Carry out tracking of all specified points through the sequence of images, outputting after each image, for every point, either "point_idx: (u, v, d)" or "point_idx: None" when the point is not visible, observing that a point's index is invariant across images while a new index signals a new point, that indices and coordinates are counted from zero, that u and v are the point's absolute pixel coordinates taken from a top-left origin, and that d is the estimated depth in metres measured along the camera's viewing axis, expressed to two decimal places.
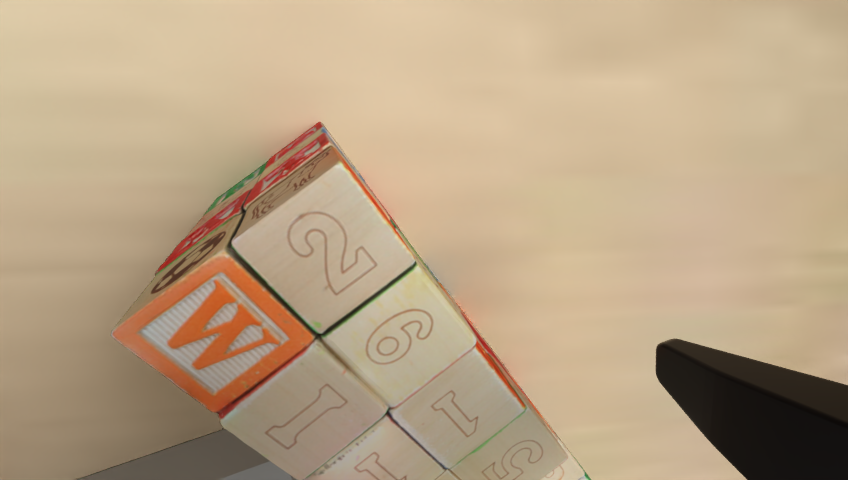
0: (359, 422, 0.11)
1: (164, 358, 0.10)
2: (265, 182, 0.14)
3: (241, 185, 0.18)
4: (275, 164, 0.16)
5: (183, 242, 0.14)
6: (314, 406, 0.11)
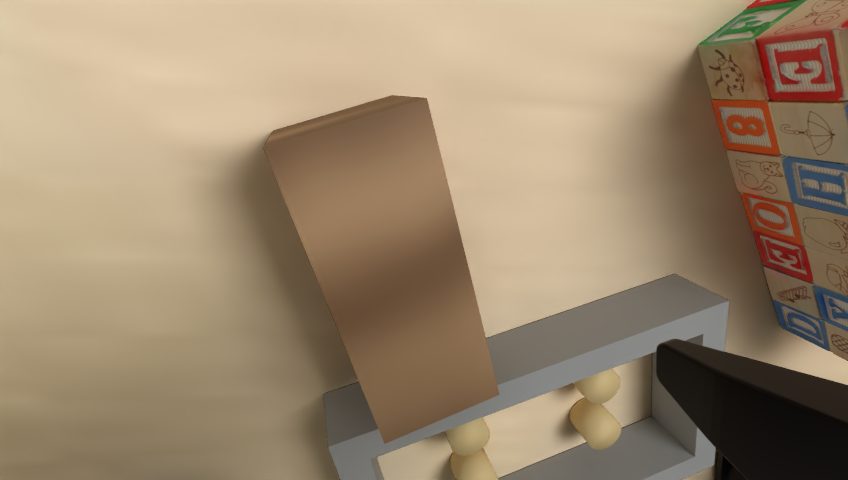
0: None
1: None
2: None
3: (756, 21, 0.19)
4: None
5: None
6: None
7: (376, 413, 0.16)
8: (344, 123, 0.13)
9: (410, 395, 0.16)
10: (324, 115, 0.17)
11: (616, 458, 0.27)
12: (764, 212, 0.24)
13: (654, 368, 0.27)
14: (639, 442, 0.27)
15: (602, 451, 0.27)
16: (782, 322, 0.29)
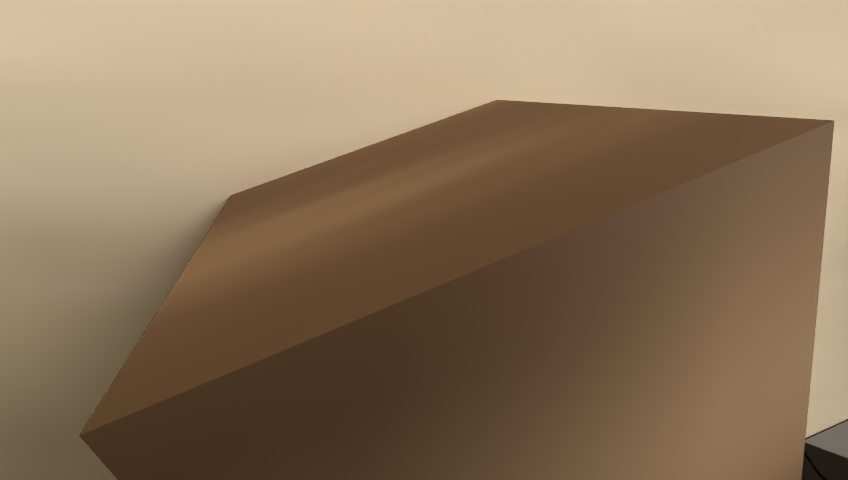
0: None
1: None
2: None
3: None
4: None
5: None
6: None
7: None
8: (493, 263, 0.03)
9: None
10: (349, 154, 0.07)
11: None
12: None
13: None
14: None
15: None
16: None
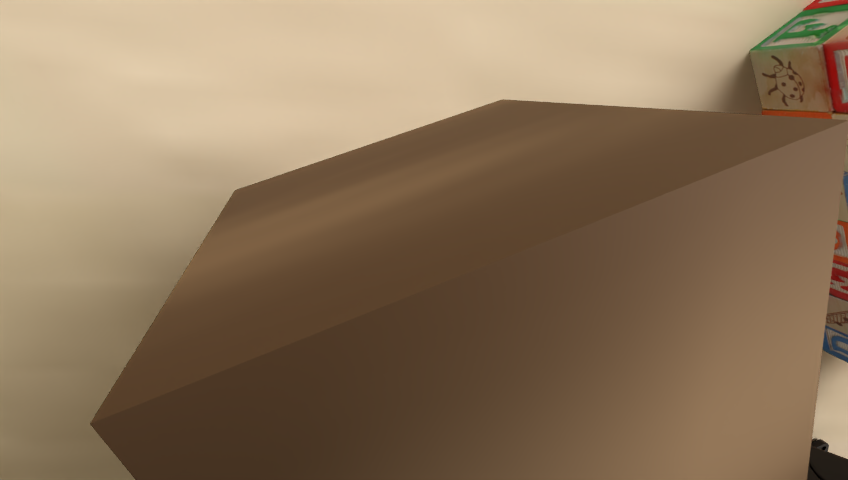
0: None
1: None
2: None
3: (819, 24, 0.17)
4: None
5: None
6: None
7: None
8: (509, 257, 0.03)
9: None
10: (354, 151, 0.07)
11: None
12: None
13: None
14: None
15: None
16: (824, 345, 0.27)
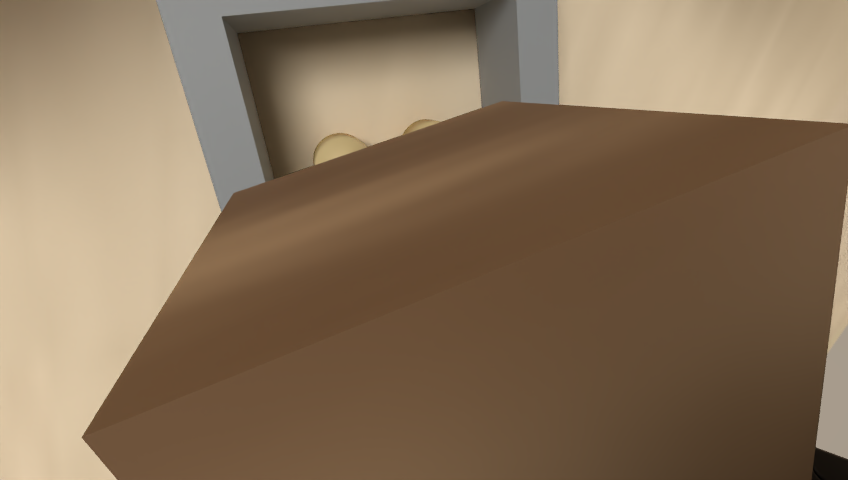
0: None
1: None
2: None
3: None
4: None
5: None
6: None
7: None
8: (509, 264, 0.03)
9: None
10: (353, 153, 0.07)
11: None
12: None
13: (371, 18, 0.16)
14: (492, 63, 0.16)
15: None
16: None
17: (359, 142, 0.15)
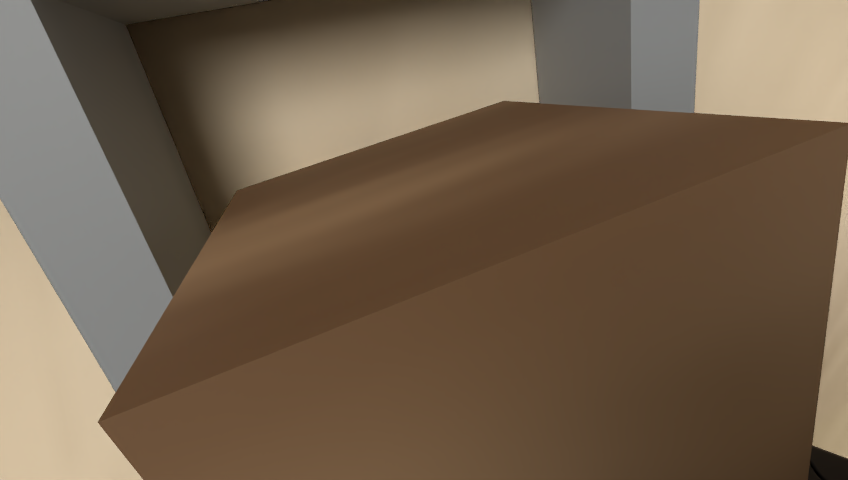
0: None
1: None
2: None
3: None
4: None
5: None
6: None
7: None
8: (514, 257, 0.03)
9: None
10: (356, 152, 0.07)
11: None
12: None
13: None
14: (565, 46, 0.10)
15: None
16: None
17: None
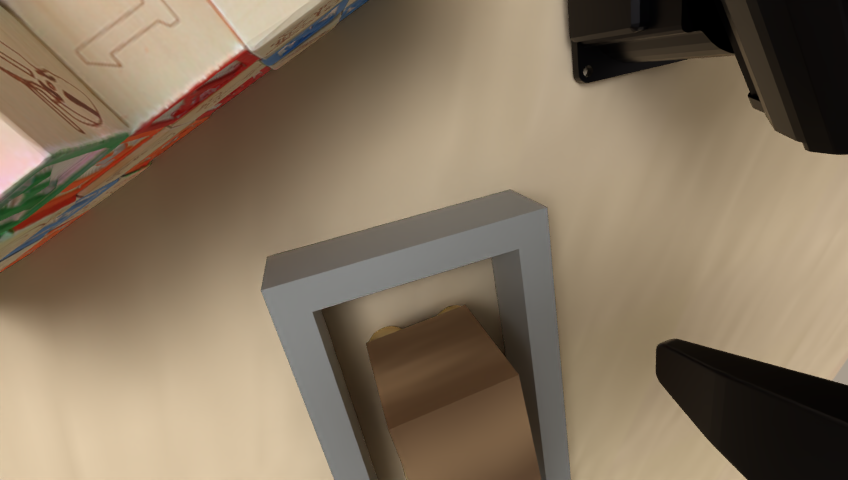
0: None
1: None
2: None
3: None
4: None
5: None
6: None
7: None
8: (452, 402, 0.15)
9: None
10: (409, 328, 0.20)
11: (511, 310, 0.22)
12: (168, 142, 0.16)
13: None
14: (503, 272, 0.21)
15: (505, 309, 0.22)
16: None
17: None
